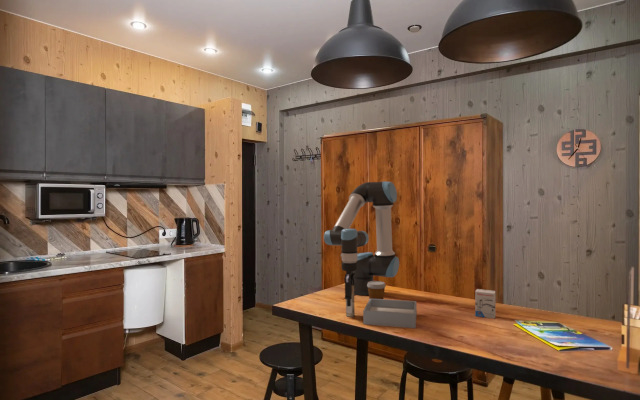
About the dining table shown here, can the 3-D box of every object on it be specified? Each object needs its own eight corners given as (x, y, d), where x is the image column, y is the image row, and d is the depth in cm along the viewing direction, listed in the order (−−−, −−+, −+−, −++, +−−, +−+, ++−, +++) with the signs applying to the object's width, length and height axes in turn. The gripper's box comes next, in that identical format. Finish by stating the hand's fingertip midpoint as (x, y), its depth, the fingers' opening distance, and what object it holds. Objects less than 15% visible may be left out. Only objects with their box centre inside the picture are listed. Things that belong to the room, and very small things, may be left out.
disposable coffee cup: (385, 303, 199) (384, 280, 198) (386, 309, 189) (386, 285, 189) (366, 303, 199) (366, 280, 199) (367, 308, 190) (367, 284, 190)
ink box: (474, 316, 176) (474, 291, 176) (476, 313, 180) (475, 288, 180) (495, 318, 172) (495, 293, 172) (495, 315, 176) (495, 290, 176)
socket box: (370, 310, 186) (369, 298, 186) (416, 313, 180) (416, 301, 180) (363, 324, 167) (363, 310, 167) (415, 328, 161) (415, 314, 161)
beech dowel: (347, 314, 181) (346, 284, 181) (355, 314, 180) (354, 285, 180) (345, 316, 177) (344, 286, 177) (353, 317, 176) (353, 287, 176)
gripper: (345, 258, 188) (346, 305, 188) (337, 264, 171) (338, 316, 172) (360, 259, 186) (361, 306, 186) (354, 265, 169) (354, 317, 170)
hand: (350, 311), depth 179 cm, fingers closed on beech dowel, 4 cm apart
